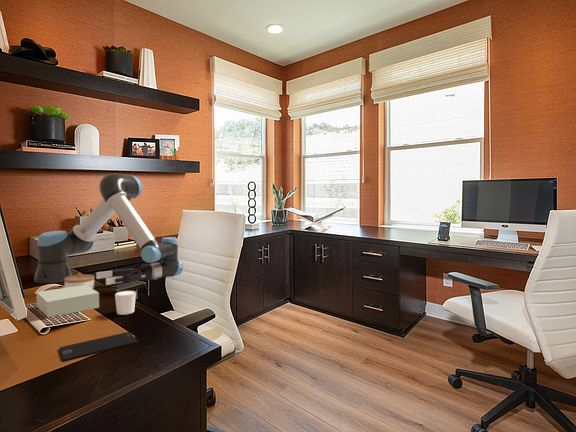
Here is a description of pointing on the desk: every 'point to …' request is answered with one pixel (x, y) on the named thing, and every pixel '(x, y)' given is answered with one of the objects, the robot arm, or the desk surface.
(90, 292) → the sage box
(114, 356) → the desk surface
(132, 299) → the white tapered cup
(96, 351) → the cell phone
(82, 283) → the lidded jar
